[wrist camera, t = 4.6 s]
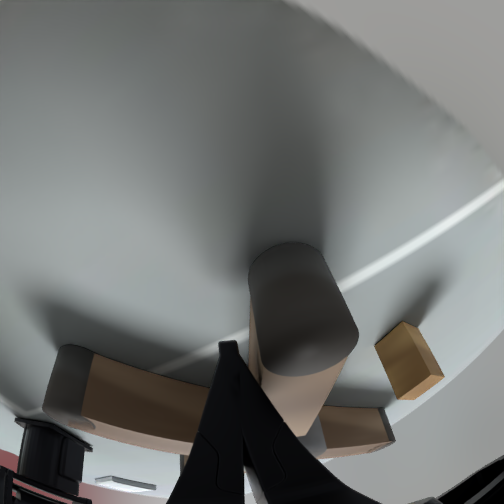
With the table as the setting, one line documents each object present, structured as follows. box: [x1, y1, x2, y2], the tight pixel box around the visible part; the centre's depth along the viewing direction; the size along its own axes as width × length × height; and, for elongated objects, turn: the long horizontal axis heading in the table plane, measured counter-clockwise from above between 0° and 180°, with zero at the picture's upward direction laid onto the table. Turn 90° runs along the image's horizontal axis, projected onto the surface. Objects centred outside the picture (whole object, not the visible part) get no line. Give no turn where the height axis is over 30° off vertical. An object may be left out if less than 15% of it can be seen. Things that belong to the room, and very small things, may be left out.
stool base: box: [42, 321, 445, 475], centre depth 15 cm, size 22×25×4 cm
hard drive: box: [95, 476, 156, 492], centre depth 36 cm, size 2×8×12 cm
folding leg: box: [248, 243, 359, 437], centre depth 10 cm, size 9×3×3 cm, turn 179°
